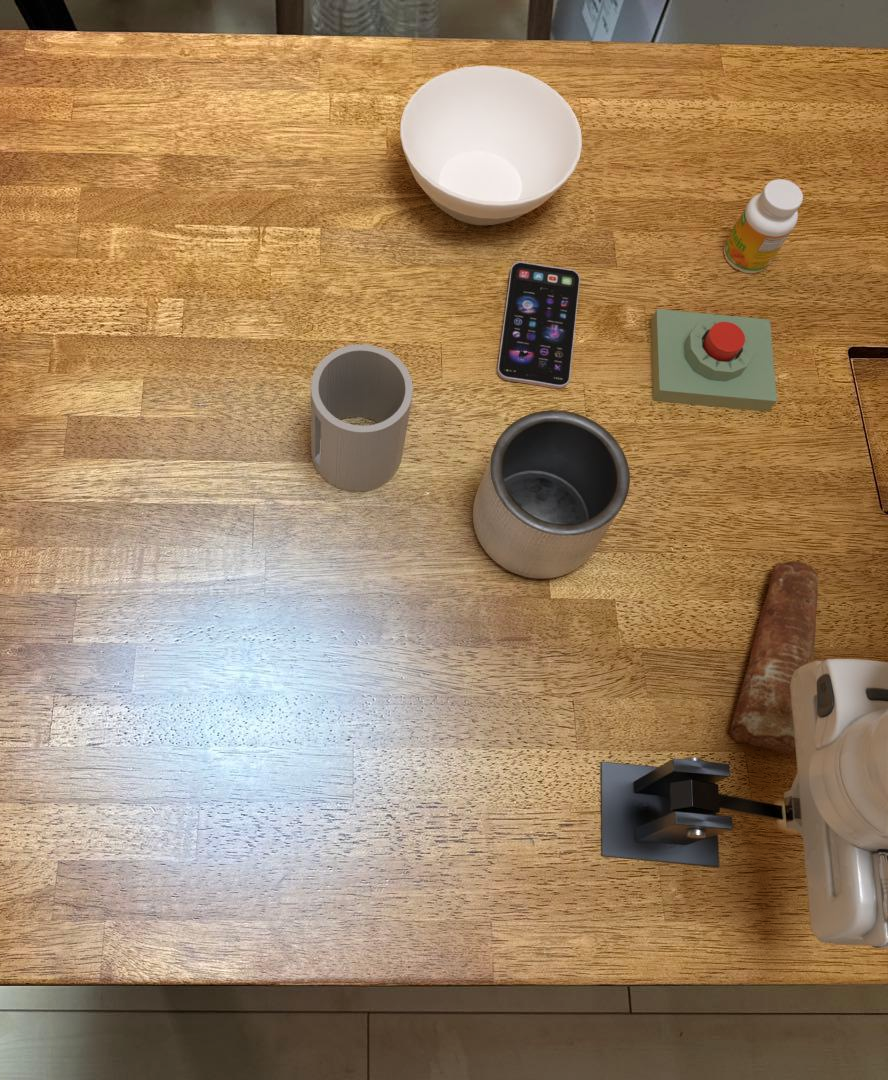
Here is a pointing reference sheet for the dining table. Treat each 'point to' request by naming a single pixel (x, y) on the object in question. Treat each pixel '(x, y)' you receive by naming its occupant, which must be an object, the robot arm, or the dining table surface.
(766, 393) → the button box
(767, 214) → the supplement bottle
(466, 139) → the bowl
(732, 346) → the button
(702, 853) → the lever base
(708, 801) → the lever
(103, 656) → the dining table surface
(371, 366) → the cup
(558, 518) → the planter
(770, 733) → the brown cured sausage
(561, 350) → the smartphone
